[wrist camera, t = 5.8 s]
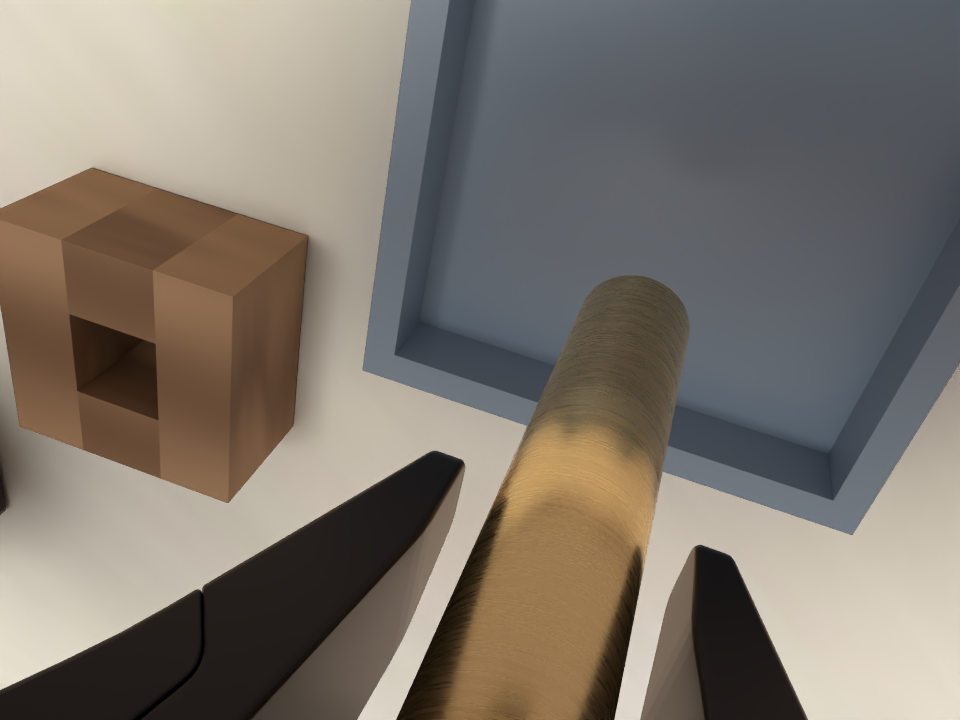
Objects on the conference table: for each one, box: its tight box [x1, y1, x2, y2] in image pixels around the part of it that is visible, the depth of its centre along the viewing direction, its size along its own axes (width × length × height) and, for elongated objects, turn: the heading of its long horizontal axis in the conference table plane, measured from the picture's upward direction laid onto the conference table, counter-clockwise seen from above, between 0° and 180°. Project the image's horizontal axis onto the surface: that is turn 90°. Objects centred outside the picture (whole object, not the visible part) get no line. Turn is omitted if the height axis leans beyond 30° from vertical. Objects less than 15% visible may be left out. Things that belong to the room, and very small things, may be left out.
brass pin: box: [396, 275, 690, 720], centre depth 9 cm, size 3×3×10 cm
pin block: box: [0, 168, 308, 503], centre depth 24 cm, size 7×7×4 cm
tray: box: [363, 0, 960, 535], centre depth 18 cm, size 13×13×2 cm
